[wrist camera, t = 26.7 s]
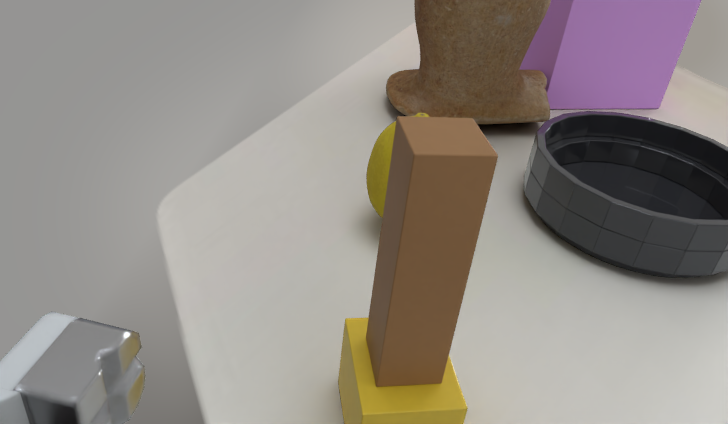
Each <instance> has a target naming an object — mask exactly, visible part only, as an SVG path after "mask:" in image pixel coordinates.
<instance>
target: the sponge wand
mask: <svg viewBox="0 0 728 424" xmlns="http://www.w3.org/2000/svg"><path fill="white" fill-rule="evenodd" d="M497 158H498V155H497V153H496V152H495V150H494V149H493V147H492V146H491V144H490V143H489V141H488V140H487V138H486V137H485V136H484V134H483V133H482V131H481V130H480V128H479V127H478V125H477V124H476V122H475V121H474V119H473V118H447V117H411V116H397V120H396V127H395V134H394V141H393V148H392V155H391V162H390V169H389V176H388V184H387V191H386V198H385V205H384V212H383V219H382V226H381V233H380V241H379V248H378V255H377V262H376V269H375V276H374V283H373V290H372V298H371V305H370V312H369V318H346V319H345V326H344V335H343V343H342V352H341V361H340V370H339V379H338V384H339V391H340V397H341V404H342V411H343V418H344V424H463V423H464V419H465V416H466V412H467V409H468V408H467V405H466V402H465V399H464V396H463V394H462V391H461V388H460V385H459V382H458V379H457V376H456V374H455V371H454V368H453V365H452V362H451V359H450V357H449V352H450V348H451V344H452V340H453V336H454V331H455V327H456V323H457V319H458V315H459V311H460V307H461V303H462V299H463V295H464V291H465V287H466V283H467V279H468V275H469V271H470V267H471V263H472V259H473V255H474V251H475V247H476V243H477V239H478V235H479V231H480V227H481V223H482V219H483V215H484V211H485V207H486V203H487V199H488V195H489V191H490V187H491V182H492V178H493V174H494V170H495V166H496V162H497Z"/></svg>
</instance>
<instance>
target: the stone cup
mask: <svg viewBox="0 0 728 424" xmlns="http://www.w3.org/2000/svg"><path fill="white" fill-rule="evenodd" d="M550 2H551V0H415V20H416V28H417V34H418V39H419V44H420V59H421V61H420V68H419V69H415V70H404V71H399V72H397V73H394V74H392V75H391V76H390V77H389V79H388V81H387V85H386V94H387V96H388V98H389V100H390V102H391V104H392V105H393V106H394V107H395V109H397V110H398V111H399V112H401V113H402V114H405V115H406V116H415V115H416V114H418V113H425V114H428V115H429V117H447V118H473V119H474V121H475V122H476V124H503V123H528V122H543V121H547V120H549V118H550V105H549V102H548V97H547V92H546V90H545V88H546V85H547V78H546V76H545V74H544V73H543V72H541V71H539V70H530V69H528V70H521V69H520V66H521V64H522V61H523V59H524V57H525V55H526V53H527V50H528V48H529V46H530V44H531V42H532V40H533V38H534V36H535V34H536V32H537V30H538V28H539V26H540V25H541V23H542V21H543V19H544V17H545V15H546V13H547V10H548V8H549V6H550Z"/></svg>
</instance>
